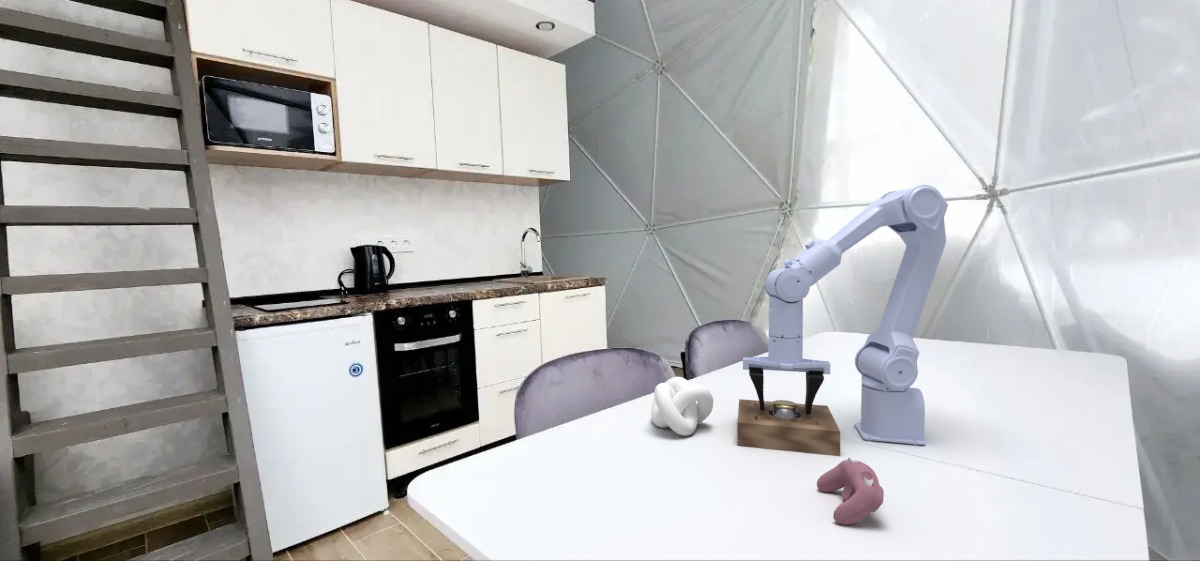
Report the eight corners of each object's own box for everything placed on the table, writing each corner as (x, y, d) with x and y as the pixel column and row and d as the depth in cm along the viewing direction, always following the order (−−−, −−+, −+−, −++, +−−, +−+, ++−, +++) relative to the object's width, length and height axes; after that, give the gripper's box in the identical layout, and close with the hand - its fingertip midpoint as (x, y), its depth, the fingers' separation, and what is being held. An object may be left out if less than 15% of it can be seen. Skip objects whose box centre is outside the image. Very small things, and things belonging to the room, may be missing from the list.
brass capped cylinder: (795, 433, 90) (795, 401, 89) (797, 441, 86) (797, 407, 85) (771, 431, 91) (772, 399, 90) (773, 439, 87) (773, 405, 87)
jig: (827, 426, 93) (827, 405, 93) (840, 455, 79) (840, 431, 79) (739, 419, 97) (739, 399, 97) (737, 445, 84) (737, 422, 84)
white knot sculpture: (705, 417, 99) (705, 373, 98) (721, 439, 87) (721, 389, 86) (649, 418, 99) (648, 374, 98) (657, 441, 87) (657, 391, 86)
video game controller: (868, 542, 58) (898, 493, 58) (831, 522, 59) (861, 473, 58) (843, 501, 68) (868, 458, 67) (812, 484, 69) (837, 442, 68)
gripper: (742, 337, 86) (742, 414, 87) (833, 341, 82) (832, 421, 82) (743, 331, 93) (742, 402, 93) (827, 334, 88) (826, 408, 89)
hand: (784, 410), depth 88 cm, fingers open, 7 cm apart
